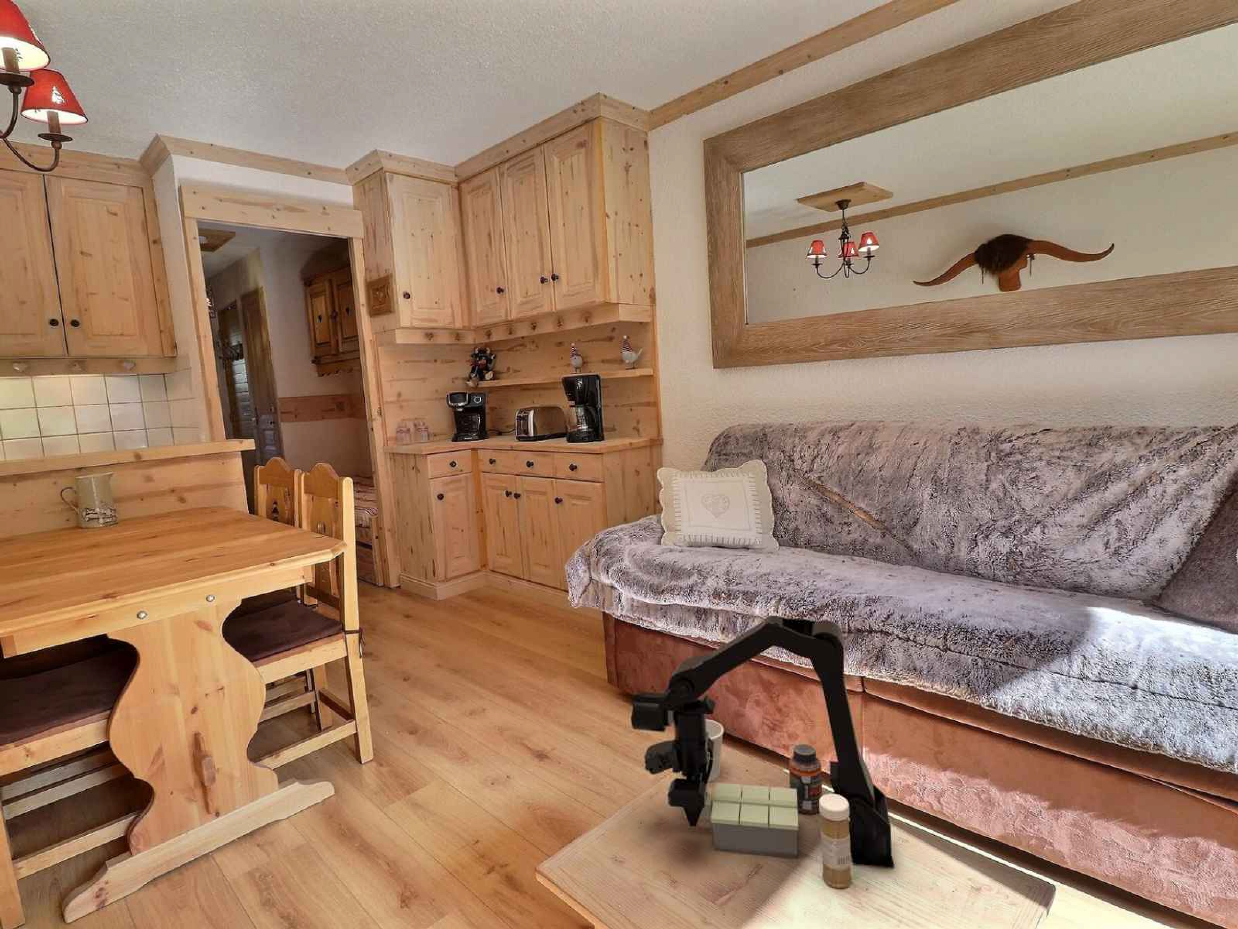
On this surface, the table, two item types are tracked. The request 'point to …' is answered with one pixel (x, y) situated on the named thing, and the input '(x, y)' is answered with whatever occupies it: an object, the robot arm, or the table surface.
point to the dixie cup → (715, 735)
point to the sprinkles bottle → (835, 840)
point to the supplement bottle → (806, 778)
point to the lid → (752, 806)
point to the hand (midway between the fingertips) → (695, 814)
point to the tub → (755, 839)
